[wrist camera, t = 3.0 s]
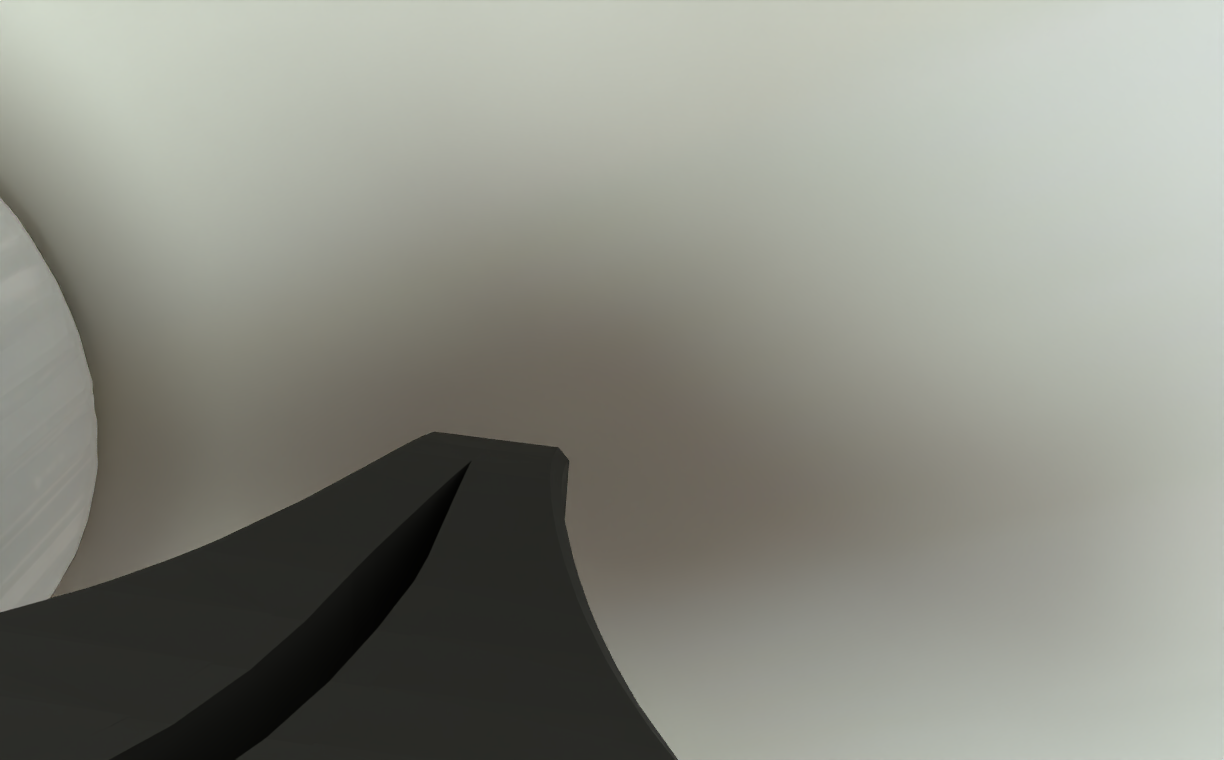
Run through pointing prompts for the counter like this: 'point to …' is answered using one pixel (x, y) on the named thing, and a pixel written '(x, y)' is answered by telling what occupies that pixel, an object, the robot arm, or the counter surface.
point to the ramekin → (40, 424)
